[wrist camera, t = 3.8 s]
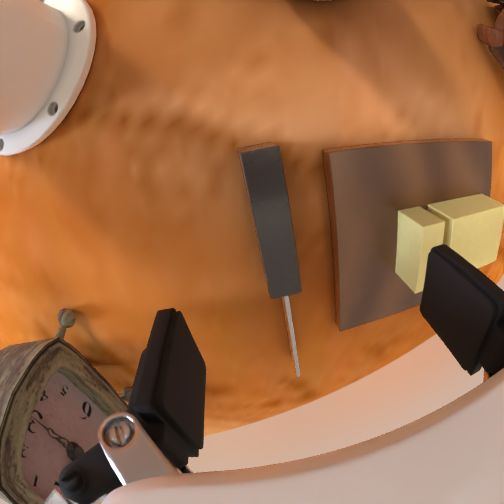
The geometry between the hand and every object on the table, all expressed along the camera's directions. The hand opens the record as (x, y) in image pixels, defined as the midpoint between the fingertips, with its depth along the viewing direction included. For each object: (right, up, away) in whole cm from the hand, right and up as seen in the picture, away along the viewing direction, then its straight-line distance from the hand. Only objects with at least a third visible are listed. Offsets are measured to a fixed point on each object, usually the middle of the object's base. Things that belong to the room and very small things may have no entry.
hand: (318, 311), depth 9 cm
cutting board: (+11, +4, +10) cm, 15 cm away
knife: (0, 0, +10) cm, 10 cm away
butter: (+14, +4, +8) cm, 17 cm away
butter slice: (+9, +3, +9) cm, 13 cm away
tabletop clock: (-19, -8, +13) cm, 24 cm away
